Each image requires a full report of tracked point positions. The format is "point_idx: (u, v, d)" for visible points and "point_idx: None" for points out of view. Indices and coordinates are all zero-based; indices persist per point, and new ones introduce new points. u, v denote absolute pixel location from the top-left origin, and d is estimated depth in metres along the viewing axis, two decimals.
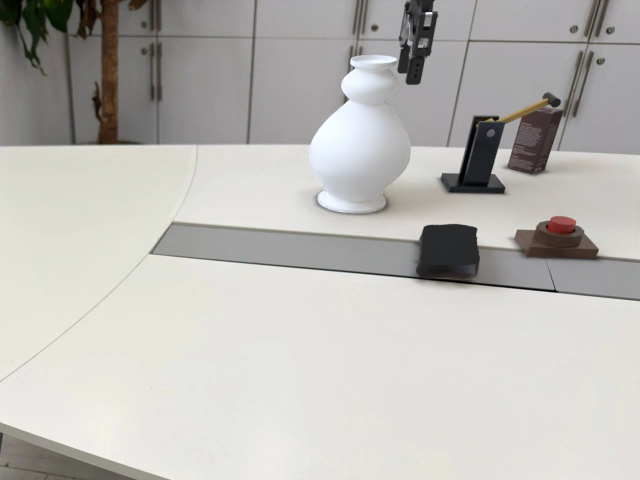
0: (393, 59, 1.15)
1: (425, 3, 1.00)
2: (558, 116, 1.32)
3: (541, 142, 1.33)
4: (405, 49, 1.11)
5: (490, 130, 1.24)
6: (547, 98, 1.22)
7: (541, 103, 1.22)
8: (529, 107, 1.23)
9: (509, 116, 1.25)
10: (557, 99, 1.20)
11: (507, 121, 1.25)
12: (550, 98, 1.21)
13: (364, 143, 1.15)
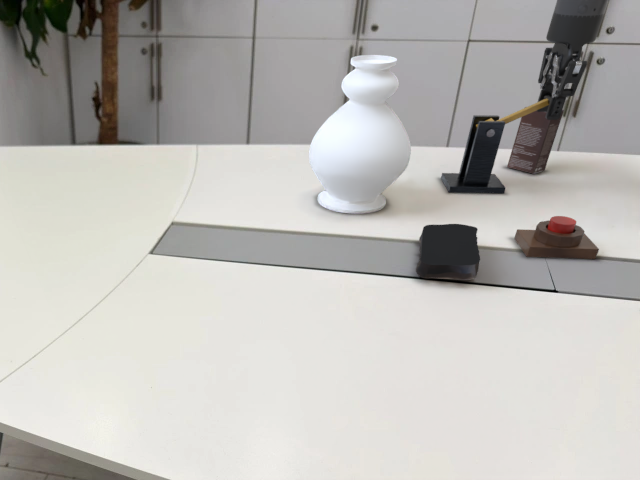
0: (393, 59, 1.15)
1: (575, 47, 1.14)
2: None
3: (541, 142, 1.33)
4: (546, 90, 1.24)
5: (490, 130, 1.24)
6: (547, 98, 1.22)
7: (541, 103, 1.22)
8: (529, 107, 1.23)
9: (509, 116, 1.25)
10: None
11: (507, 121, 1.25)
12: (550, 98, 1.21)
13: (364, 143, 1.15)
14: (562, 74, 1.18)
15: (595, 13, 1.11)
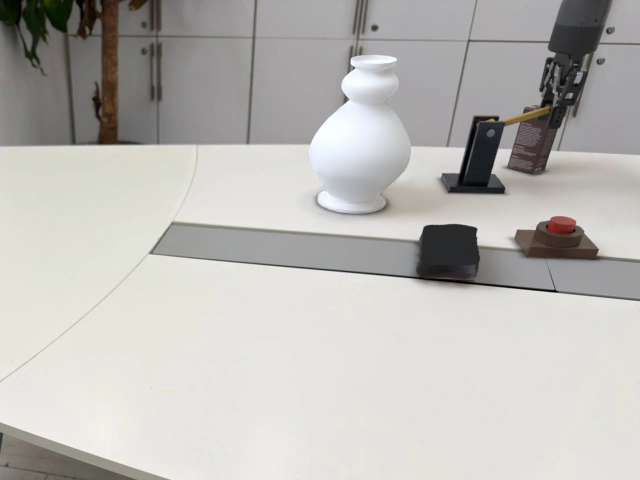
0: (393, 59, 1.15)
1: (576, 57, 1.15)
2: None
3: (541, 142, 1.33)
4: (546, 99, 1.24)
5: (490, 130, 1.24)
6: (549, 106, 1.23)
7: (542, 110, 1.23)
8: (530, 112, 1.24)
9: (510, 119, 1.25)
10: None
11: (507, 123, 1.25)
12: (552, 106, 1.22)
13: (364, 143, 1.15)
14: (563, 84, 1.18)
15: (596, 24, 1.12)
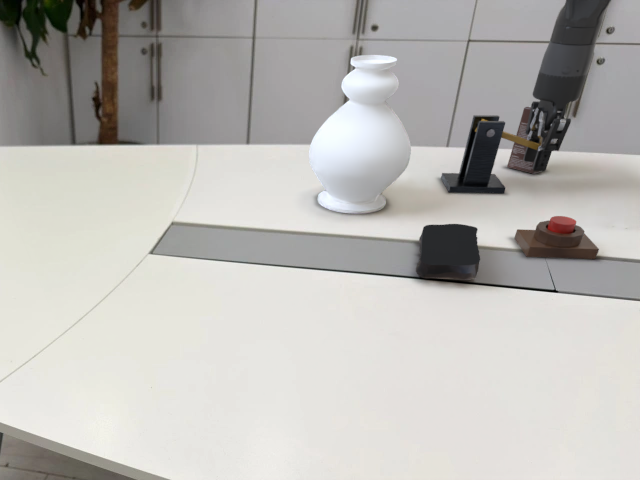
0: (393, 59, 1.15)
1: (560, 105, 1.19)
2: None
3: None
4: None
5: (490, 130, 1.24)
6: None
7: (534, 144, 1.26)
8: (524, 139, 1.26)
9: (508, 133, 1.26)
10: None
11: (503, 136, 1.26)
12: None
13: (364, 143, 1.15)
14: (548, 129, 1.23)
15: (578, 74, 1.16)
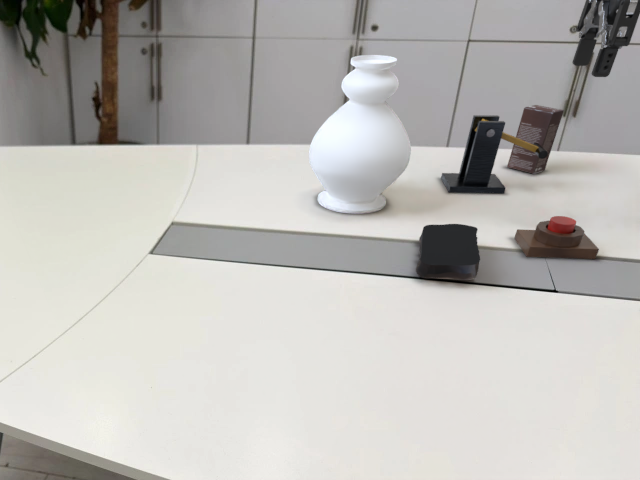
0: (393, 59, 1.15)
1: None
2: (558, 116, 1.32)
3: (541, 142, 1.33)
4: (585, 39, 1.04)
5: (490, 130, 1.24)
6: (538, 146, 1.27)
7: (532, 146, 1.27)
8: (523, 141, 1.27)
9: (507, 134, 1.26)
10: (546, 152, 1.25)
11: (503, 136, 1.26)
12: (541, 148, 1.26)
13: (364, 143, 1.15)
14: (609, 24, 0.98)
15: None
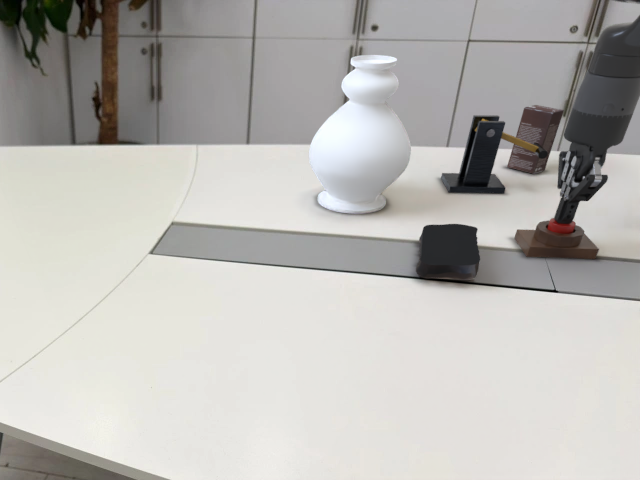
0: (393, 59, 1.15)
1: (599, 150, 0.96)
2: (558, 116, 1.32)
3: (541, 142, 1.33)
4: None
5: (490, 130, 1.24)
6: (538, 146, 1.27)
7: (532, 146, 1.27)
8: (523, 141, 1.27)
9: (507, 134, 1.26)
10: (546, 152, 1.25)
11: (503, 136, 1.26)
12: (541, 148, 1.26)
13: (364, 143, 1.15)
14: (582, 178, 1.00)
15: (623, 113, 0.93)
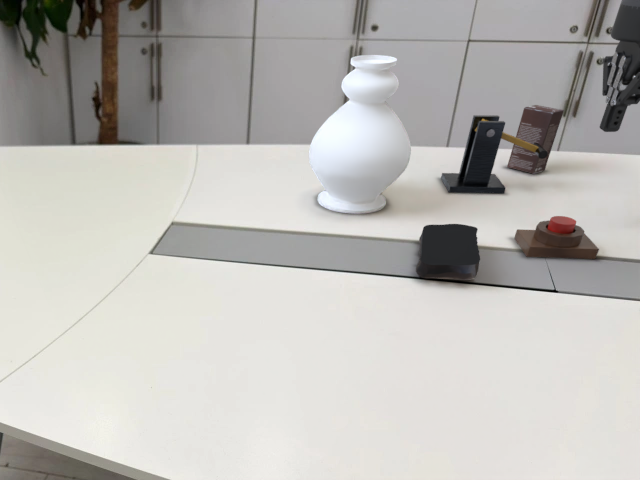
0: (393, 59, 1.15)
1: None
2: (558, 116, 1.32)
3: (541, 142, 1.33)
4: None
5: (490, 130, 1.24)
6: (538, 146, 1.27)
7: (532, 146, 1.27)
8: (523, 141, 1.27)
9: (507, 134, 1.26)
10: (546, 152, 1.25)
11: (503, 136, 1.26)
12: (541, 148, 1.26)
13: (364, 143, 1.15)
14: (631, 79, 0.96)
15: None
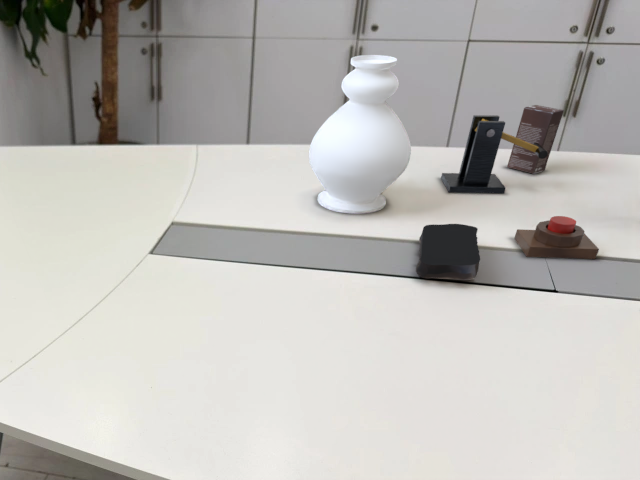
0: (393, 59, 1.15)
1: None
2: (558, 116, 1.32)
3: (541, 142, 1.33)
4: None
5: (490, 130, 1.24)
6: (538, 146, 1.27)
7: (532, 146, 1.27)
8: (523, 141, 1.27)
9: (507, 134, 1.26)
10: (546, 152, 1.25)
11: (503, 136, 1.26)
12: (541, 148, 1.26)
13: (364, 143, 1.15)
14: None
15: None
